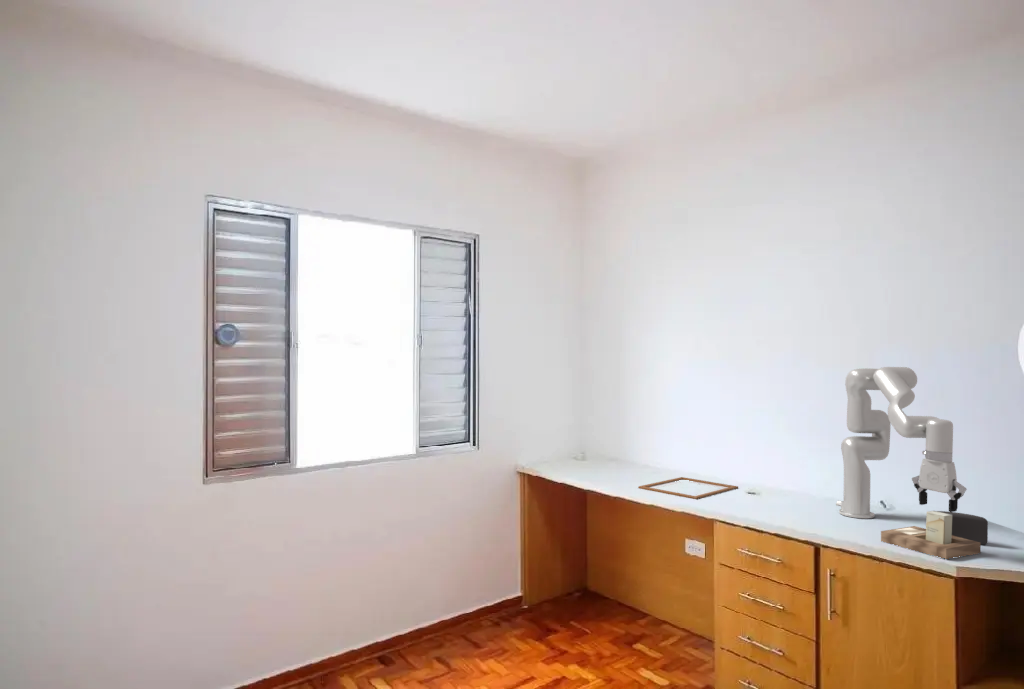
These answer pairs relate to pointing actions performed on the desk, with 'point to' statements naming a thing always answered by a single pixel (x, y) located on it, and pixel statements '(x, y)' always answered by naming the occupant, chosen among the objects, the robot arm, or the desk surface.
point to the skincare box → (939, 527)
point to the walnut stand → (929, 543)
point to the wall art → (672, 481)
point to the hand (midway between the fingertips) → (937, 507)
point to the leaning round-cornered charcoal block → (969, 527)
